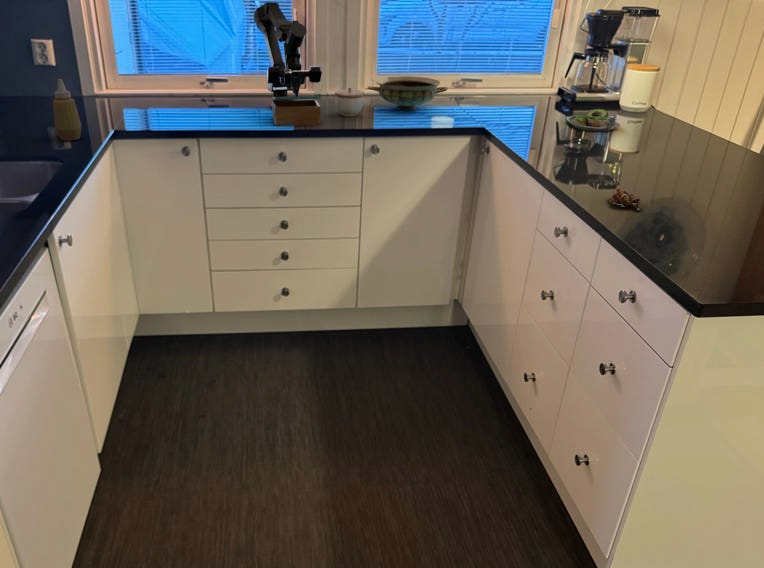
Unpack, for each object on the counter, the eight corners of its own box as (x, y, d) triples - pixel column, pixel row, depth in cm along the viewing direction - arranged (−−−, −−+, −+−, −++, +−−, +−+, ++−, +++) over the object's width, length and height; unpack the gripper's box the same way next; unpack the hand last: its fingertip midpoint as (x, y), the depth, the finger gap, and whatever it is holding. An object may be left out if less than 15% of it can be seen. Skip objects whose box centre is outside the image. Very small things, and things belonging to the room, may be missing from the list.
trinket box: (364, 111, 259) (365, 85, 254) (362, 118, 250) (363, 90, 245) (335, 110, 260) (336, 84, 255) (333, 117, 251) (334, 90, 246)
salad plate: (631, 133, 233) (635, 119, 231) (579, 133, 232) (582, 119, 230) (609, 120, 249) (612, 107, 247) (560, 120, 249) (563, 107, 246)
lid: (320, 98, 235) (320, 95, 235) (275, 99, 233) (275, 96, 233) (315, 99, 247) (315, 96, 247) (272, 100, 245) (271, 97, 245)
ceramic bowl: (443, 103, 274) (446, 76, 269) (447, 116, 254) (450, 87, 248) (368, 101, 276) (369, 74, 271) (366, 114, 256) (367, 85, 251)
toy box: (320, 124, 241) (320, 106, 237) (275, 126, 239) (275, 107, 235) (315, 117, 251) (315, 99, 247) (272, 118, 249) (271, 100, 245)
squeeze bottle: (59, 143, 216) (48, 82, 207) (55, 137, 223) (44, 78, 213) (85, 140, 220) (75, 80, 210) (80, 134, 226) (70, 76, 216)
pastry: (635, 196, 176) (639, 182, 174) (640, 212, 166) (644, 197, 164) (606, 194, 177) (609, 180, 175) (609, 209, 168) (613, 194, 166)
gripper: (316, 71, 250) (320, 109, 247) (265, 72, 248) (268, 110, 244) (319, 50, 239) (324, 90, 236) (266, 51, 237) (270, 91, 233)
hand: (296, 96), depth 238 cm, fingers closed, pressing on lid
